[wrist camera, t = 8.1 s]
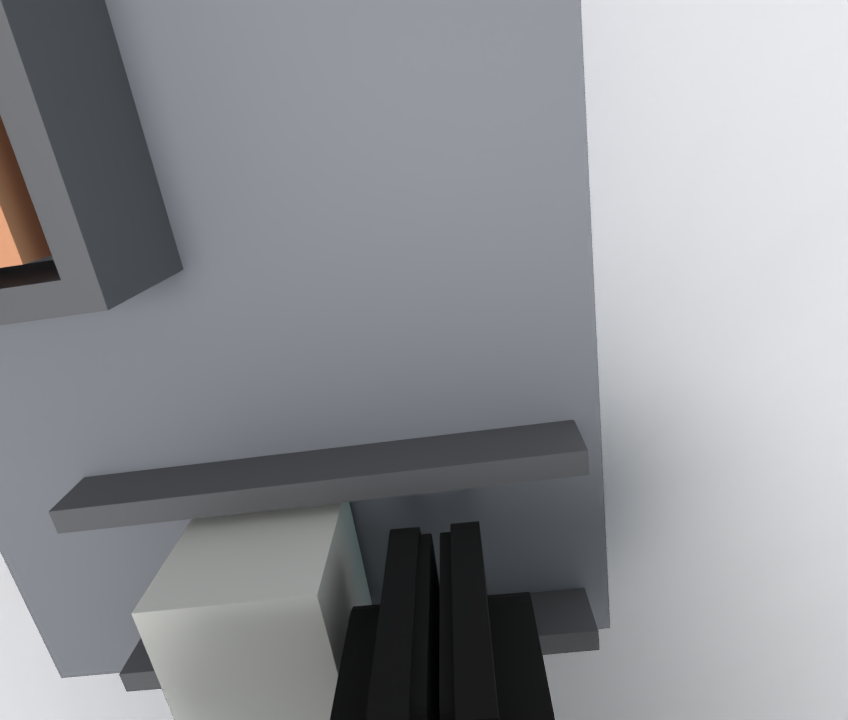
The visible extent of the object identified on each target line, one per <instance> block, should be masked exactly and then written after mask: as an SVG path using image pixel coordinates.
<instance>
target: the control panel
mask: <svg viewBox="0 0 848 720" xmlns="http://www.w3.org/2000/svg"><path fill="white" fill-rule="evenodd" d="M0 115H1V118H2V121H3V124H4V126H5V129H6V132H7V135H8V137H9V140H10V143H11V145H12V148H13V151H14V154H15V156H16V159H17V162H18V164H19V167H20V170H21V173H22V175H23V178H24V181H25V183H26V186H27V189H28V192H29V194H30V197H31V200H32V202H33V205H34V208H35V211H36V213H37V216H38V219H39V222H40V224H41V227H42V230H43V232H44V235H45V238H46V241H47V243H48V246H49V249H50V251H51V254H52V255H51V256H48V257H45V258H42V259H39V260H36V261H32V262H29V263H26V264H23V265H16V266H9V267H3V268H0V552H1V554H2V556H3V558H4V560H5V562H6V564H7V566H8V568H9V571H10V573H11V575H12V577H13V579H14V581H15V583H16V585H17V587H18V589H19V591H20V593H21V595H22V597H23V599H24V602H25V604H26V606H27V608H28V610H29V612H30V614H31V616H32V618H33V620H34V622H35V624H36V626H37V628H38V630H39V633H40V635H41V637H42V639H43V641H44V643H45V645H46V647H47V649H48V651H49V653H50V655H51V657H52V659H53V662H54V664H55V666H56V668H57V670H58V672H59V674H60V676H61V678H66V677H77V676H88V675H99V674H110V673H120V674H119V675H120V677H121V680H122V682H123V684H124V686H125V689H126V691H127V692H128V691H139V690H150V689H162V688H161V685H160V683H159V680H158V678H157V676H156V673H155V671H154V668H153V666H152V663H151V661H150V658H149V656H148V653H147V651H146V648H145V646H144V644H143V641H142V639H141V636H140V634H139V631H138V629H137V626H136V624H135V621H134V619H133V617H132V614H131V613H132V612H133V610H134V609H135V607H136V605H137V604H138V602H139V601H140V599H141V598H142V596H143V595H144V593H145V591H146V590H147V588H148V587H149V585H150V584H151V582H152V580H153V579H154V577H155V576H156V574H157V573H158V571H159V570H160V568H161V566H162V565H163V563H164V562H165V560H166V559H167V557H168V556H169V554H170V552H171V551H172V549H173V548H174V546H175V545H176V543H177V541H178V540H179V538H180V537H181V535H182V534H183V532H184V531H185V529H186V527H187V526H188V524H189V523H190V521H191V520H192V519H197V518H206V517H215V516H224V515H233V514H242V513H251V512H260V511H269V510H278V509H287V508H296V507H305V506H314V505H323V504H332V503H341V502H349V503H350V507H351V512H352V516H353V521H354V525H355V530H356V534H357V539H358V543H359V548H360V552H361V556H362V561H363V565H364V570H365V574H366V579H367V583H368V588H369V592H370V597H371V601H372V605H377V604H380V603H381V595H382V587H383V579H384V572H385V564H386V556H387V548H388V540H389V533H390V530H391V529H398V528H409V527H420V530H421V534H432V539H433V545H434V552H435V559H436V565H437V572H438V579H439V585H440V533H442V532H451V531H450V525H451V524H452V523H463V522H474V521H479V524H480V532H481V541H482V550H483V558H484V567H485V576H486V584H487V593H488V595H496V594H508V593H520V592H530V595H531V600H532V605H533V610H534V615H535V620H536V625H537V630H538V635H539V641H540V646H541V651H542V655H546V654H557V653H569V652H580V651H591V650H599V635H598V629H604V628H610V617H609V596H608V575H607V553H606V532H605V511H604V490H603V468H602V447H601V426H600V404H599V383H598V362H597V340H596V319H595V298H594V276H593V255H592V234H591V212H590V191H589V170H588V148H587V127H586V106H585V84H584V63H583V42H582V20H581V0H0Z"/></svg>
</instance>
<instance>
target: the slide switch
mask: <svg viewBox="0 0 848 720" xmlns="http://www.w3.org/2000/svg"><path fill="white" fill-rule="evenodd" d="M365 605H372V601H371V597H370V592H369V588H368V583H367V579H366V574H365V570H364V565H363V561H362V556H361V552H360V548H359V543H358V539H357V534H356V530H355V525H354V521H353V516H352V512H351V507H350V503H349V502H341V503H332V504H323V505H314V506H305V507H296V508H287V509H278V510H269V511H260V512H251V513H242V514H233V515H224V516H215V517H206V518H197V519H192V520H191V521H190V523H189V524H188V526H187V527H186V529H185V531H184V532H183V534H182V535H181V537H180V538H179V540H178V541H177V543H176V545H175V546H174V548H173V549H172V551H171V552H170V554H169V556H168V557H167V559H166V560H165V562H164V563H163V565H162V566H161V568H160V570H159V571H158V573H157V574H156V576H155V577H154V579H153V580H152V582H151V584H150V585H149V587H148V588H147V590H146V591H145V593H144V595H143V596H142V598H141V599H140V601H139V602H138V604H137V605H136V607H135V609H134V610H133V612H132V613H131V614H132V617H133V619H134V621H135V624H136V626H137V629H138V631H139V634H140V636H141V639H142V641H143V644H144V646H145V648H146V651H147V653H148V656H149V658H150V661H151V663H152V666H153V668H154V671H155V673H156V676H157V678H158V680H159V683H160V685H161V688H162V690H163V693H164V695H165V698H166V700H167V703H168V705H169V707H170V710H171V712H172V715H173V717H174V720H330V716H331V710H332V705H333V700H334V695H335V689H336V684H337V679H338V674H339V668H340V663H341V658H342V652H343V647H344V642H345V637H346V631H347V626H348V621H349V616H350V612H351V609H352V608H353V606H365Z"/></svg>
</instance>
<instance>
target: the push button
mask: <svg viewBox="0 0 848 720" xmlns="http://www.w3.org/2000/svg"><path fill="white" fill-rule="evenodd" d="M51 255H52V254H51V251H50V249H49V246H48V243H47V241H46V238H45V235H44V232H43V230H42V227H41V224H40V222H39V219H38V216H37V213H36V211H35V208H34V205H33V202H32V200H31V197H30V194H29V192H28V189H27V186H26V183H25V181H24V178H23V175H22V173H21V170H20V167H19V164H18V162H17V159H16V156H15V154H14V151H13V148H12V145H11V143H10V140H9V137H8V135H7V132H6V129H5V126H4V124H3V121H2V118H1V115H0V268H3V267H9V266H16V265H23V264H26V263H29V262H32V261H36V260H39V259H42V258H45V257H48V256H51Z"/></svg>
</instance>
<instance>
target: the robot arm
mask: <svg viewBox="0 0 848 720" xmlns="http://www.w3.org/2000/svg"><path fill="white" fill-rule="evenodd" d="M450 531H451V532H442V533H440V585H439V579H438V572H437V565H436V559H435V552H434V545H433V539H432V534H421V530H420V527H409V528H398V529H391V530H390V533H389V540H388V548H387V556H386V564H385V572H384V579H383V587H382V595H381V603H380V604H377V605H365V606H353V608H352V609H351V612H350V616H349V621H348V626H347V631H346V637H345V642H344V647H343V652H342V658H341V663H340V668H339V674H338V679H337V684H336V689H335V695H334V700H333V705H332V710H331V716H330V720H555V718H554V713H553V708H552V702H551V697H550V692H549V687H548V682H547V677H546V671H545V666H544V661H543V656H542V651H541V646H540V641H539V635H538V630H537V625H536V620H535V615H534V610H533V605H532V600H531V595H530V592H520V593H508V594H496V595H488V593H487V584H486V576H485V567H484V558H483V550H482V541H481V532H480V524H479V521H474V522H463V523H452V524H451V525H450Z"/></svg>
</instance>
